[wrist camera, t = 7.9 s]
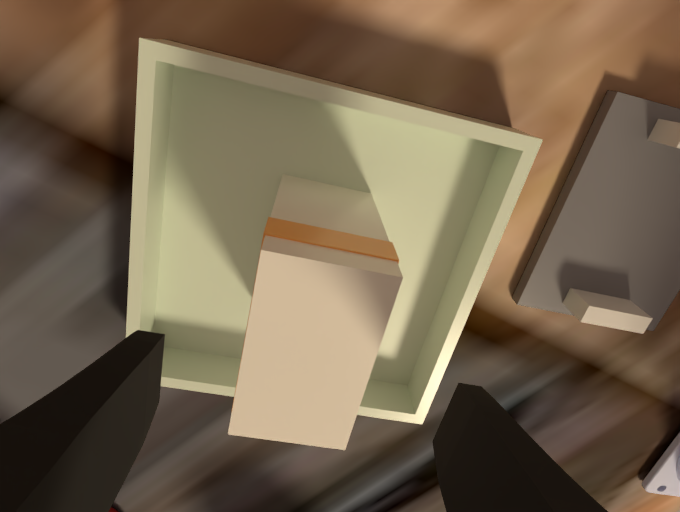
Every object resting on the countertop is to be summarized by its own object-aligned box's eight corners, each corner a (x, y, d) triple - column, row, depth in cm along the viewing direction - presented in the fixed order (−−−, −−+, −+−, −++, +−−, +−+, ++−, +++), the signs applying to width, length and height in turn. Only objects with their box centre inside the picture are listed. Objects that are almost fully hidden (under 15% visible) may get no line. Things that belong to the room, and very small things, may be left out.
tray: (512, 127, 17) (542, 139, 15) (411, 386, 22) (422, 424, 20) (165, 39, 15) (138, 37, 13) (145, 343, 20) (124, 380, 18)
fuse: (372, 192, 17) (405, 276, 11) (336, 321, 20) (346, 451, 13) (281, 172, 17) (259, 247, 10) (256, 307, 19) (225, 435, 13)
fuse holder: (763, 133, 17) (818, 143, 15) (644, 323, 21) (677, 350, 19) (608, 90, 16) (645, 95, 15) (511, 297, 20) (531, 323, 18)
